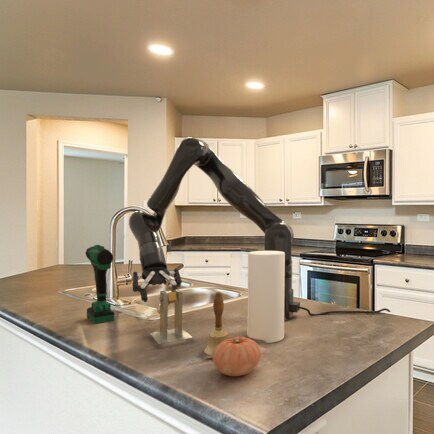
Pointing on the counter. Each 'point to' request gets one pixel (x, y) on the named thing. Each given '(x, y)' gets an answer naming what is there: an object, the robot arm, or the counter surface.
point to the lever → (169, 300)
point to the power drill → (100, 284)
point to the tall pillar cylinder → (266, 295)
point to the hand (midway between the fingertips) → (160, 299)
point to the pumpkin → (236, 356)
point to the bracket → (165, 334)
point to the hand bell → (216, 326)
